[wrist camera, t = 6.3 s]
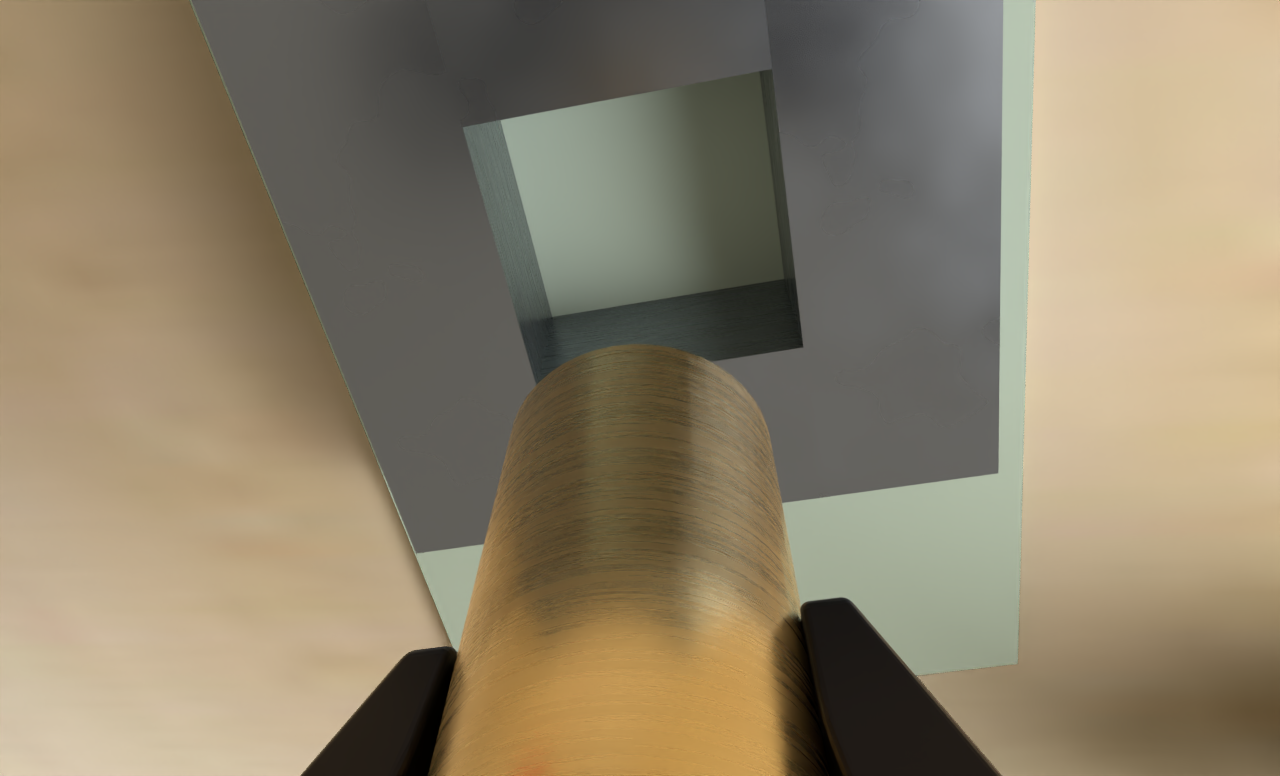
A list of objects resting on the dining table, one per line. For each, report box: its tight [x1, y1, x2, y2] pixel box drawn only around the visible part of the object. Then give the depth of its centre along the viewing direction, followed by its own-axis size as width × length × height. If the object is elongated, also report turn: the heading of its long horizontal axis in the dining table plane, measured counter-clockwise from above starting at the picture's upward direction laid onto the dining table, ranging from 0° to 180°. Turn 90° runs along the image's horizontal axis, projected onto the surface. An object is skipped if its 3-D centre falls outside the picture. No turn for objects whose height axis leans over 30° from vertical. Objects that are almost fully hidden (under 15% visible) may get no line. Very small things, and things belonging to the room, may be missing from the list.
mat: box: [189, 0, 1036, 676], centre depth 21 cm, size 21×15×1 cm
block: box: [191, 0, 1003, 554], centre depth 17 cm, size 12×12×3 cm
